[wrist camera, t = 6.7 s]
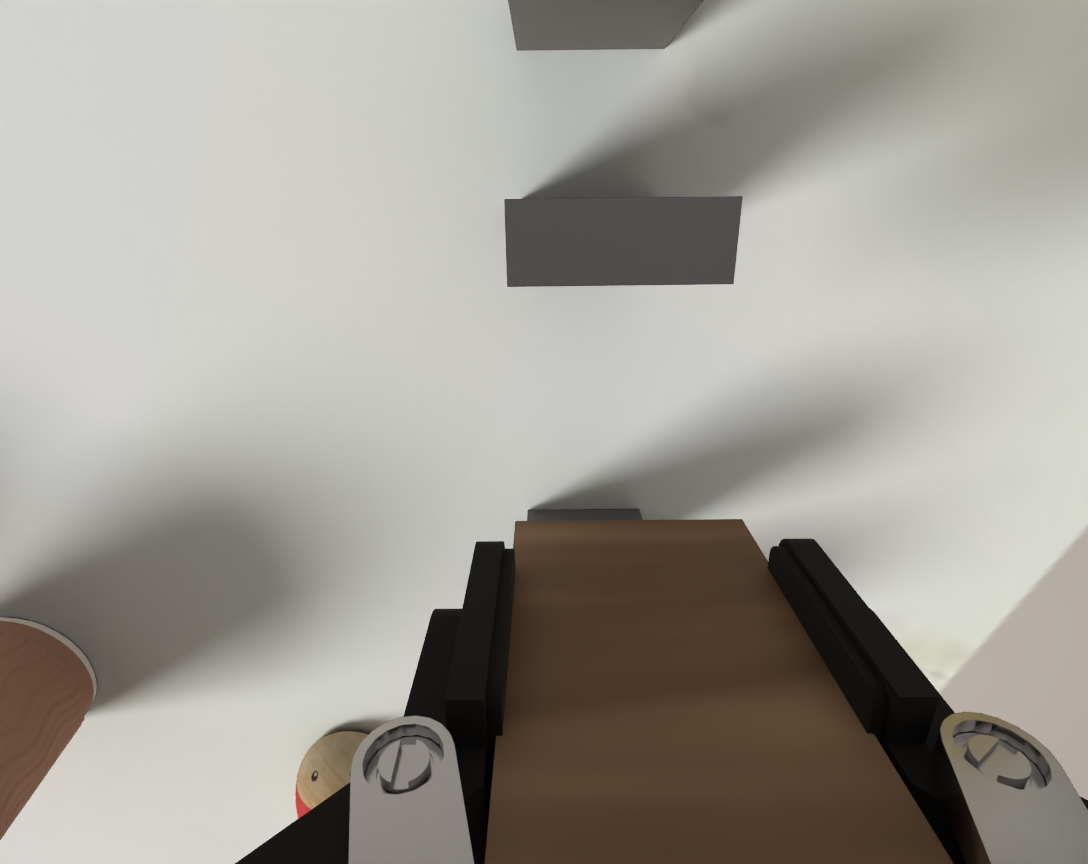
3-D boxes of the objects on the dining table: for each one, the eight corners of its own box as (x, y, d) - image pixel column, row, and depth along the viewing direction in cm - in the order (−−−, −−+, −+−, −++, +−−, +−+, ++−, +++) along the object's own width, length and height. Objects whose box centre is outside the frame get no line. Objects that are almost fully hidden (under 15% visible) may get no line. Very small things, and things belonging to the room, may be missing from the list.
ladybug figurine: (401, 713, 31) (385, 774, 28) (446, 837, 35) (436, 904, 31) (281, 730, 32) (250, 793, 28) (337, 851, 35) (316, 918, 32)
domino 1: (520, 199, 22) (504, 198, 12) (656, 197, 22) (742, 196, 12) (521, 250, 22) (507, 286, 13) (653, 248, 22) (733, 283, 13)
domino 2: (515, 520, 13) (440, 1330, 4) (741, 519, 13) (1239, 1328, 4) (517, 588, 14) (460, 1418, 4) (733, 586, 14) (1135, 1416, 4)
